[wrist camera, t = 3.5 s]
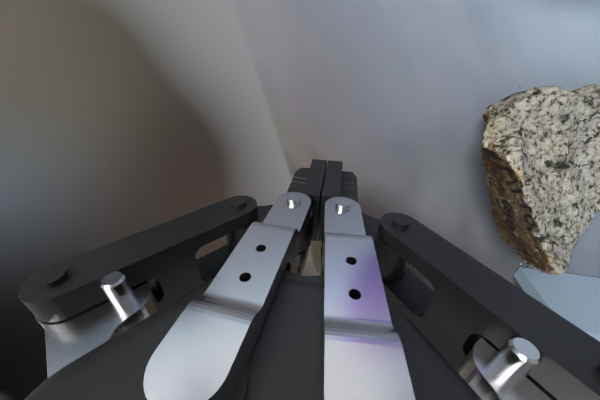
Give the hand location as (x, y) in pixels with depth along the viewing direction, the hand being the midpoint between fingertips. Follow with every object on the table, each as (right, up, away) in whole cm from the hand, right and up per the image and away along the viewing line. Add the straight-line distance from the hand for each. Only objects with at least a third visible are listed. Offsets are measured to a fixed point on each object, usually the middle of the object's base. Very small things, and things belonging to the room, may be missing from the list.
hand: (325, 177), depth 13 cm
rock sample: (+13, +2, +2) cm, 13 cm away
